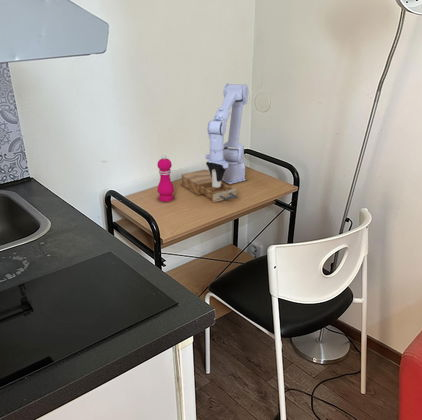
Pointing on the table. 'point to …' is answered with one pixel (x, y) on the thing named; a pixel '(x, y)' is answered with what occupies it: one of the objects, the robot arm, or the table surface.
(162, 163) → the pepper mill
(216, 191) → the drawer
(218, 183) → the spice jar
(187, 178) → the cabinet
